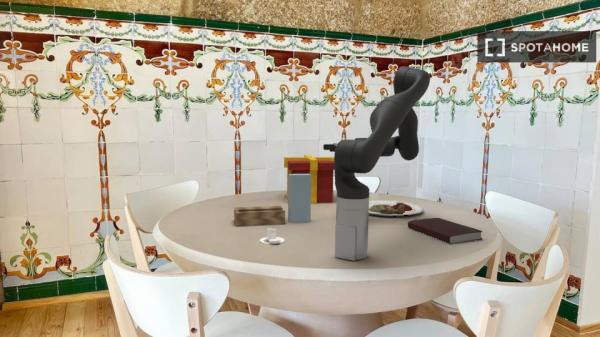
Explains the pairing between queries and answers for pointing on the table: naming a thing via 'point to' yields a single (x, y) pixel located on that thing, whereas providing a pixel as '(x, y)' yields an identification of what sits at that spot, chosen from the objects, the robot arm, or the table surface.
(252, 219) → the slot box
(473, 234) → the book
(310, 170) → the gift box
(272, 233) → the teacup and saucer
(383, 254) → the table surface
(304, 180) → the cover panel
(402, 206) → the plated food
